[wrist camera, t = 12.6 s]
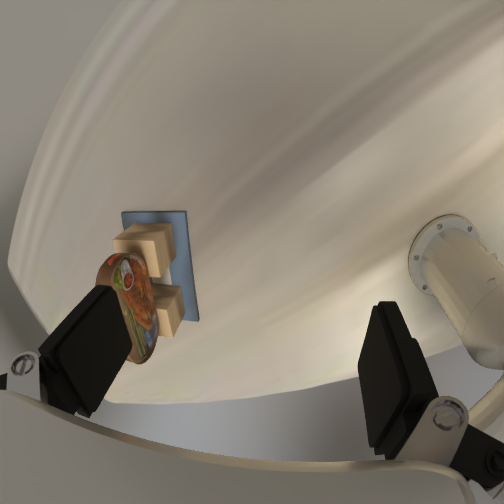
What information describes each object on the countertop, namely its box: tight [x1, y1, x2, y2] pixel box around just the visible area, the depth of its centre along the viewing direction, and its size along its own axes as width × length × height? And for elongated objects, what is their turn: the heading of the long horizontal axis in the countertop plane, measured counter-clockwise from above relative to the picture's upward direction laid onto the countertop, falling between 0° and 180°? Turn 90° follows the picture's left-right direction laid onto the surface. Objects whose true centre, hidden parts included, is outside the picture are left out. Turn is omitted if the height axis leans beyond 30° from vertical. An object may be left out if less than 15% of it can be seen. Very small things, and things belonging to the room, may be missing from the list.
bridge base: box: [113, 211, 199, 338], centre depth 41 cm, size 10×18×7 cm, turn 1°
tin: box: [95, 253, 159, 364], centre depth 34 cm, size 15×3×8 cm, turn 1°
